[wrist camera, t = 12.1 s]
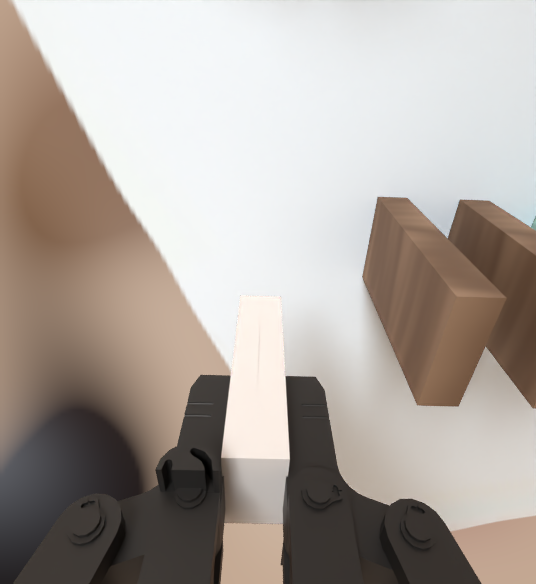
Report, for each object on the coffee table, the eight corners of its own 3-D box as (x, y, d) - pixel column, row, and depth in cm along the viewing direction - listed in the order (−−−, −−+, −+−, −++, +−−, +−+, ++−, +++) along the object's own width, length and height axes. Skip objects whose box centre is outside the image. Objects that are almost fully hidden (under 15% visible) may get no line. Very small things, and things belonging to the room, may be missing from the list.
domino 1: (362, 277, 23) (417, 405, 14) (377, 196, 20) (456, 296, 12) (388, 277, 23) (458, 406, 14) (407, 198, 20) (506, 298, 12)
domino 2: (435, 279, 23) (532, 408, 14) (459, 199, 20) (597, 300, 12) (460, 280, 23) (573, 409, 14) (489, 200, 20) (647, 302, 12)
